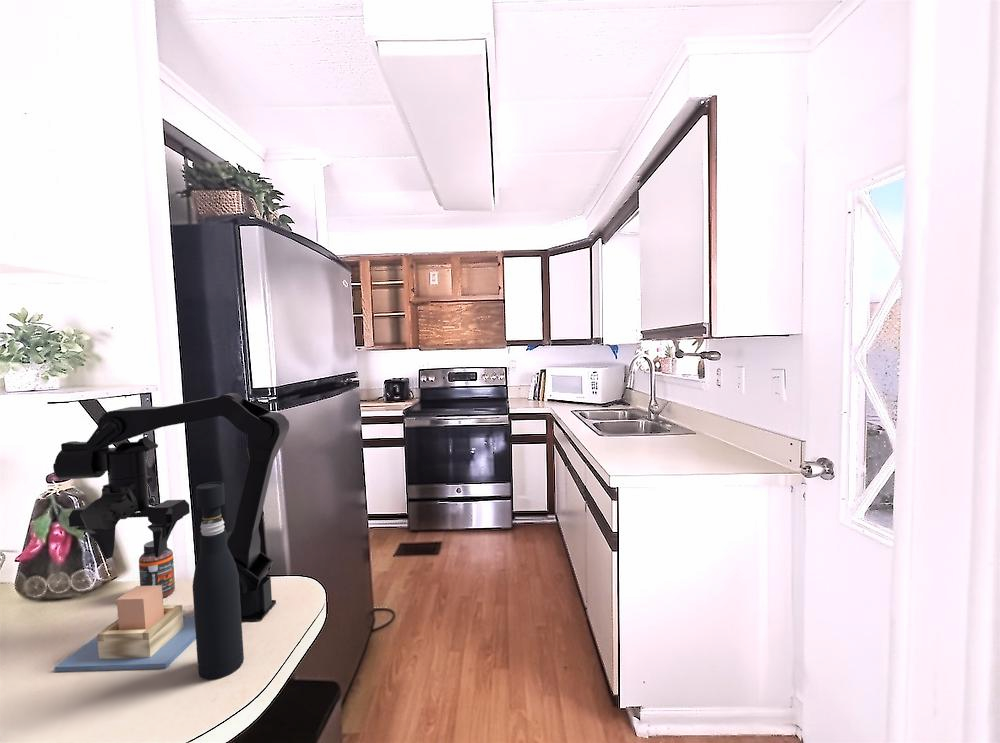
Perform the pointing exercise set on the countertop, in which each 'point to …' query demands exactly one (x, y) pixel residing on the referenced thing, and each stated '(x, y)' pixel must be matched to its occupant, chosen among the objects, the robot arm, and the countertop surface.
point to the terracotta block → (140, 607)
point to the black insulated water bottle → (216, 592)
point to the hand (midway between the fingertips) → (133, 557)
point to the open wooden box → (140, 636)
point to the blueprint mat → (162, 658)
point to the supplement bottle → (157, 569)
